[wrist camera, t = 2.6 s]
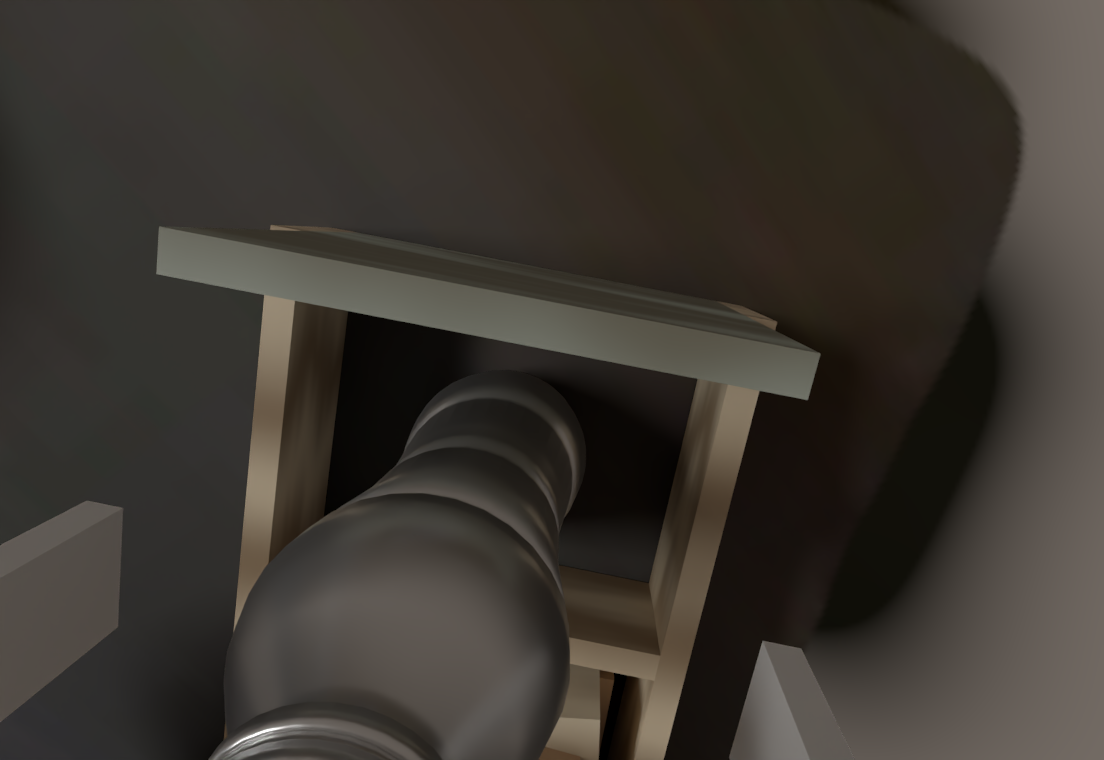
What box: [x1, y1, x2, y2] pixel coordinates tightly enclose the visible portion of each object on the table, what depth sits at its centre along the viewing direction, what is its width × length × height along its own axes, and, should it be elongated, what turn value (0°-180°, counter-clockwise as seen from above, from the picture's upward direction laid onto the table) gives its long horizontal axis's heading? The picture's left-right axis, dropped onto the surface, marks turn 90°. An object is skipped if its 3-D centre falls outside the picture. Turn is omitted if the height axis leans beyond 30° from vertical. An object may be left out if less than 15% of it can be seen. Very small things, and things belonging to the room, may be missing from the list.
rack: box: [157, 225, 820, 760], centre depth 22 cm, size 24×16×12 cm, turn 170°
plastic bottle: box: [208, 370, 586, 760], centre depth 17 cm, size 6×7×20 cm
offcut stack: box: [538, 664, 614, 760], centre depth 25 cm, size 8×12×9 cm, turn 81°
